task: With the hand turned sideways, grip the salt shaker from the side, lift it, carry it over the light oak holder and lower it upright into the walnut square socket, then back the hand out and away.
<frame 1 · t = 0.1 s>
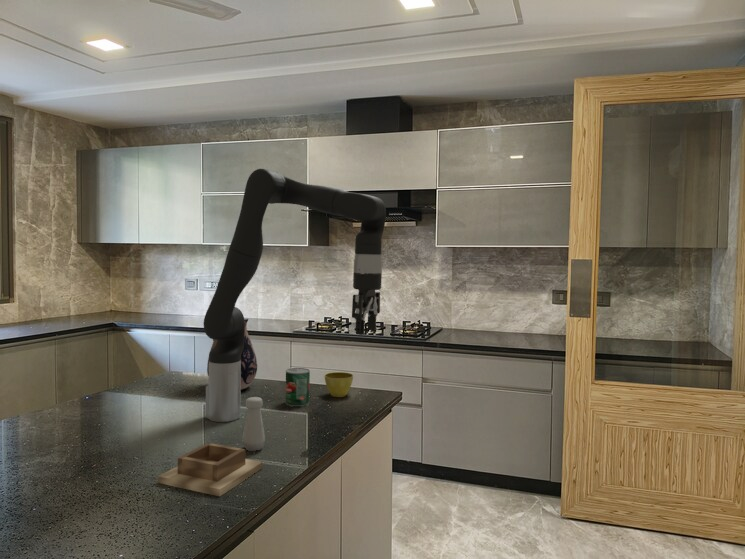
hand: (365, 332, 148), 29 cm above the counter, tool pointing down, fingers open, 8 cm apart
socket holder: (212, 475, 124), on the counter
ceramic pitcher: (228, 388, 201), on the counter
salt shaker: (253, 449, 141), on the counter
flower pot: (338, 395, 194), on the counter
canned tomato: (297, 403, 183), on the counter
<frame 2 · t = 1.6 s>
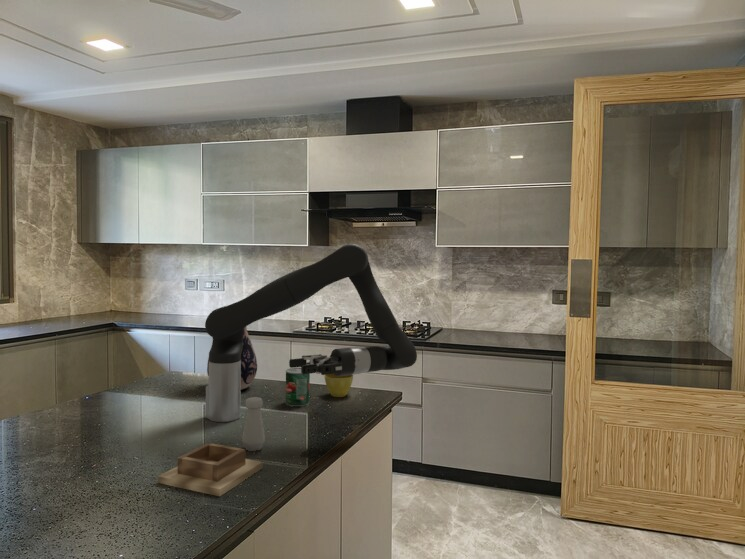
hand: (295, 366, 146), 20 cm above the counter, tool horizontal, fingers open, 8 cm apart
nothing on the counter moved.
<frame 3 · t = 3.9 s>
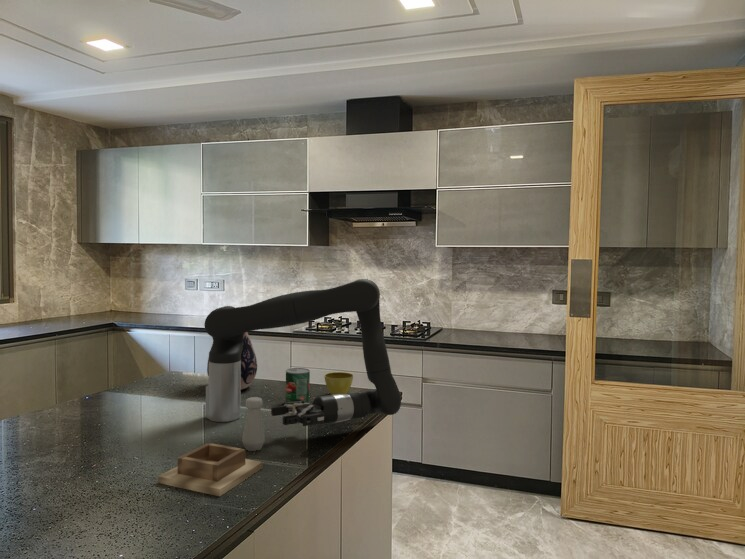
hand: (277, 416, 144), 7 cm above the counter, tool horizontal, fingers open, 8 cm apart
nothing on the counter moved.
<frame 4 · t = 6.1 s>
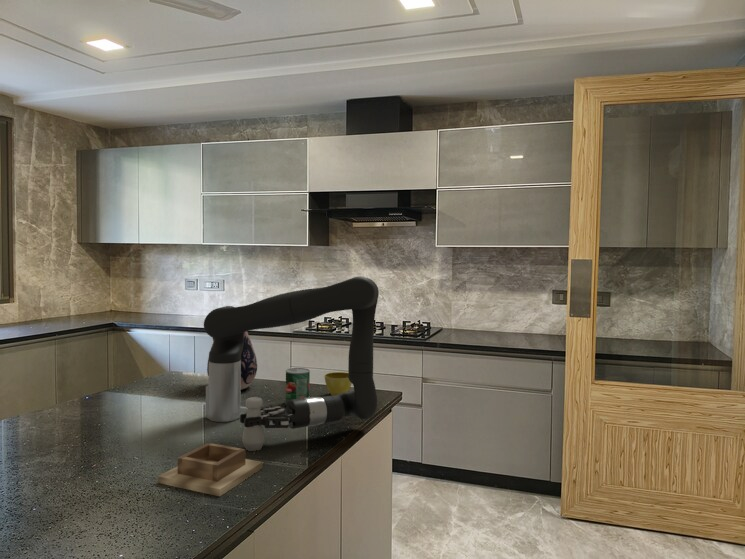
hand: (242, 420, 139), 8 cm above the counter, tool horizontal, fingers closed on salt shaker, 3 cm apart
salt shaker: (253, 449, 141), on the counter, touching gripper
everything else where it was.
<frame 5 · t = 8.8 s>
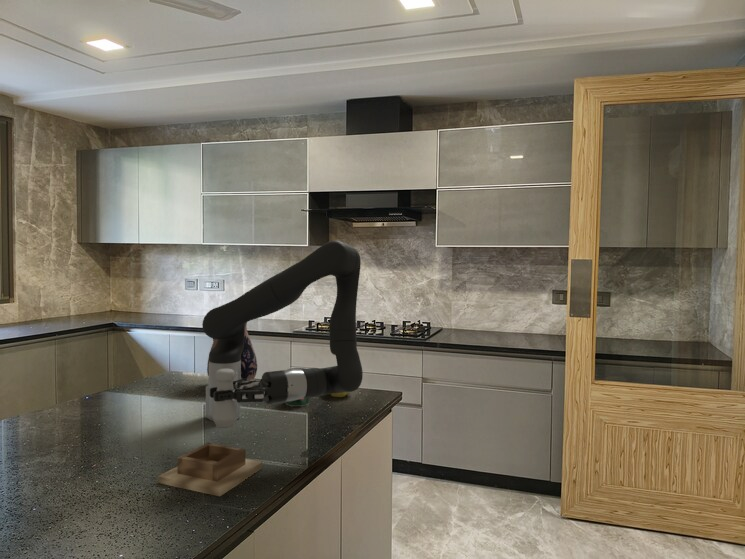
hand: (212, 394, 125), 18 cm above the counter, tool horizontal, fingers closed on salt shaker, 3 cm apart
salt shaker: (225, 426, 127), point 10 cm above the counter, touching gripper
everything else where it was.
when the fingers open (10 cm above the counter, at t = 11.4 s): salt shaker stays where it is, resting on socket holder.
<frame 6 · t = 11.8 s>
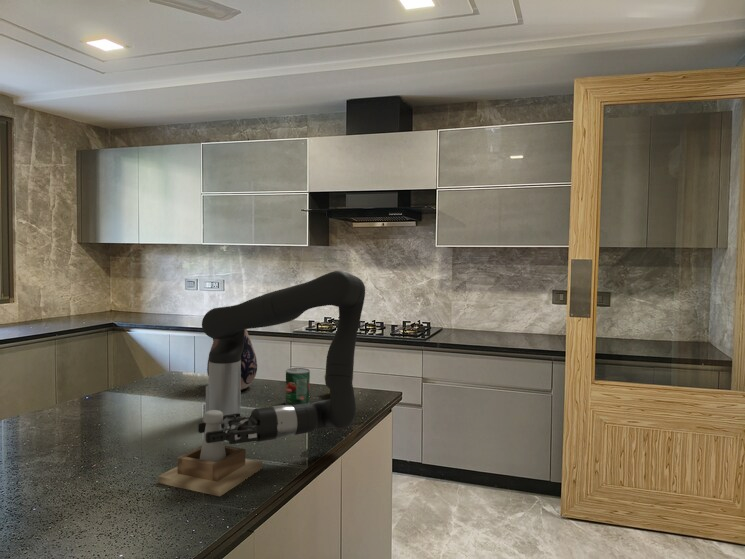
hand: (202, 432, 122), 10 cm above the counter, tool horizontal, fingers open, 6 cm apart
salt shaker: (212, 469, 124), point 1 cm above the counter, touching socket holder
everything else where it was.
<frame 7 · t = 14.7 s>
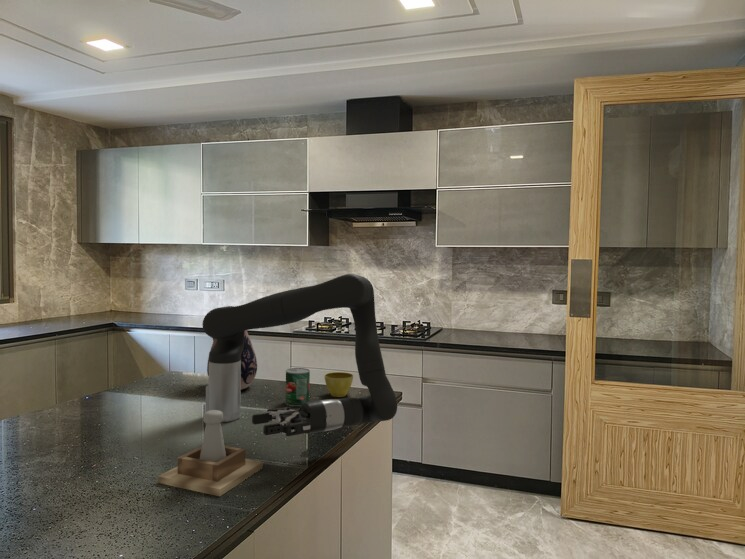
hand: (258, 424, 129), 10 cm above the counter, tool horizontal, fingers open, 8 cm apart
nothing on the counter moved.
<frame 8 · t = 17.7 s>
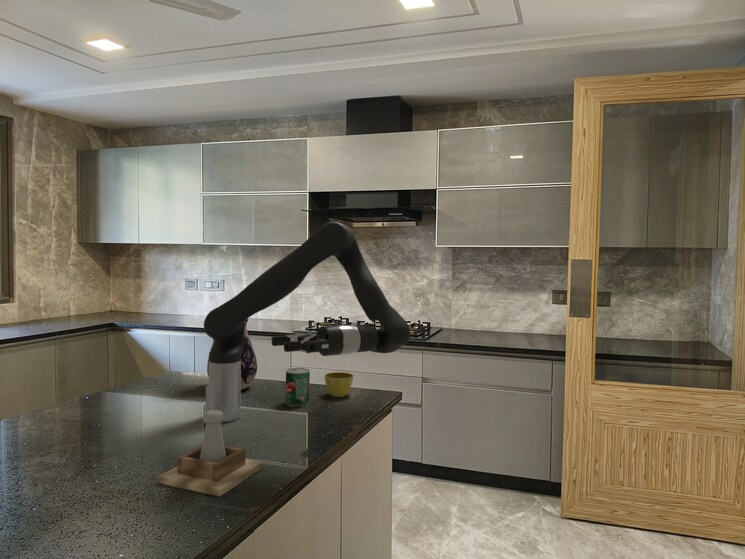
hand: (278, 344, 133), 28 cm above the counter, tool horizontal, fingers open, 8 cm apart
nothing on the counter moved.
at the end: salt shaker 0.1 cm off-centre on the socket holder, point 1.3 cm above the socket holder's base; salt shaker tilted 0°; the gripper is holding nothing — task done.
